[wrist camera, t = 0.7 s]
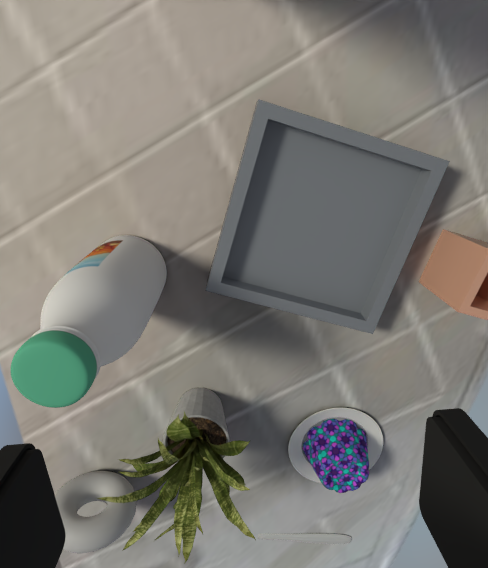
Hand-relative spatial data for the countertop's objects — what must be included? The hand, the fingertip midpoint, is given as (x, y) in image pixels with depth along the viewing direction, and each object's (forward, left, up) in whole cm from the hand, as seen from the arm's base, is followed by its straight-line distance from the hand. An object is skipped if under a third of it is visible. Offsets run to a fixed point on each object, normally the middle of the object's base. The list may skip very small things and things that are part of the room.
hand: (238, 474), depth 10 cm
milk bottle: (+8, -9, -33) cm, 35 cm away
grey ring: (+36, -7, -33) cm, 49 cm away
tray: (-2, +8, -33) cm, 34 cm away
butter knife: (+42, +15, -33) cm, 56 cm away
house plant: (+22, +1, -33) cm, 39 cm away
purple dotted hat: (+24, +20, -33) cm, 46 cm away
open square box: (-2, +24, -33) cm, 41 cm away
